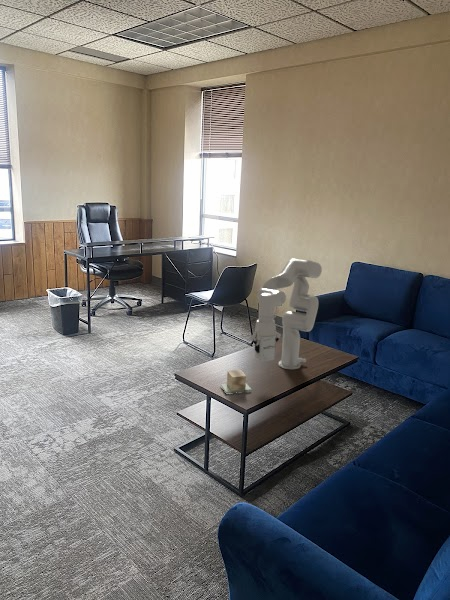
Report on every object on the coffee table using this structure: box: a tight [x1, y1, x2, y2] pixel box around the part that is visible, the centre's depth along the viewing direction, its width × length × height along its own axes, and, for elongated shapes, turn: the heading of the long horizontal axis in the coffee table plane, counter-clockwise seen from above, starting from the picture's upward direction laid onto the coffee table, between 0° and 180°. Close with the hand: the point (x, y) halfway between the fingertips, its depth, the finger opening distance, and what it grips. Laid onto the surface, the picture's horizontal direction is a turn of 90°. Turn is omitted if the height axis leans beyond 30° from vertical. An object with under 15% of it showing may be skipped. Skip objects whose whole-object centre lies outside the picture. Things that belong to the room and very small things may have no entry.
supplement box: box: [254, 336, 276, 363], centre depth 234 cm, size 7×7×13 cm
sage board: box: [220, 383, 252, 394], centre depth 232 cm, size 13×9×2 cm
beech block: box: [226, 369, 247, 391], centre depth 231 cm, size 7×8×7 cm
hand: (265, 351), depth 235 cm, fingers closed on supplement box, 7 cm apart
